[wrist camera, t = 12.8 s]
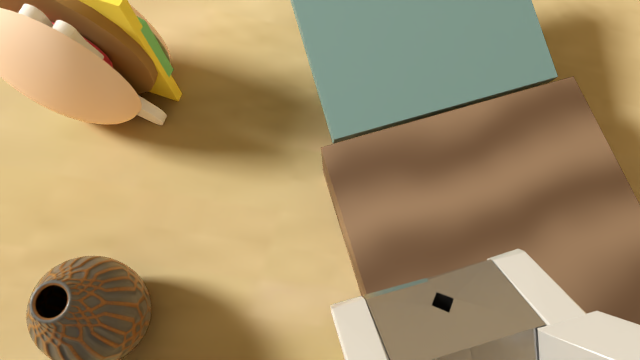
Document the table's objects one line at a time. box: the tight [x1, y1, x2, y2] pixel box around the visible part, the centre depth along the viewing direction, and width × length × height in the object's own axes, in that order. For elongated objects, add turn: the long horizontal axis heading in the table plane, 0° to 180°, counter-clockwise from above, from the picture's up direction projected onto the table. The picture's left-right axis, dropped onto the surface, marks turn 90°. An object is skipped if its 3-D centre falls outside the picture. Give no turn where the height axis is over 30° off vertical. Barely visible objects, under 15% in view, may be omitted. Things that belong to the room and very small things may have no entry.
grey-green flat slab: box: [291, 0, 558, 144], centre depth 38 cm, size 3×16×11 cm
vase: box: [27, 256, 151, 360], centre depth 33 cm, size 7×7×9 cm
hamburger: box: [0, 0, 182, 125], centre depth 38 cm, size 12×8×12 cm
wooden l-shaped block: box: [321, 76, 640, 325], centre depth 32 cm, size 18×18×13 cm
